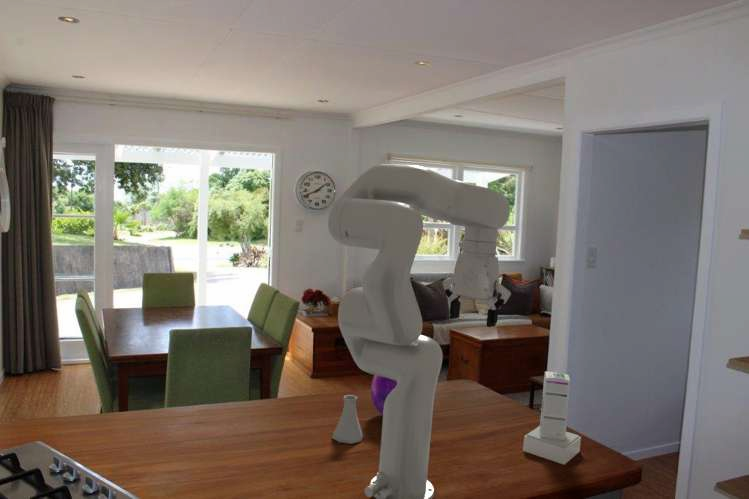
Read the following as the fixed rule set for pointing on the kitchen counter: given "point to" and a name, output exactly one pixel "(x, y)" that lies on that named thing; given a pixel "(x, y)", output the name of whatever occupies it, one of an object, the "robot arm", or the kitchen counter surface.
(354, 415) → the flask
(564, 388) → the syrup box
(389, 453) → the robot arm
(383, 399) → the decorative orb
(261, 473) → the kitchen counter surface
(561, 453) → the block
